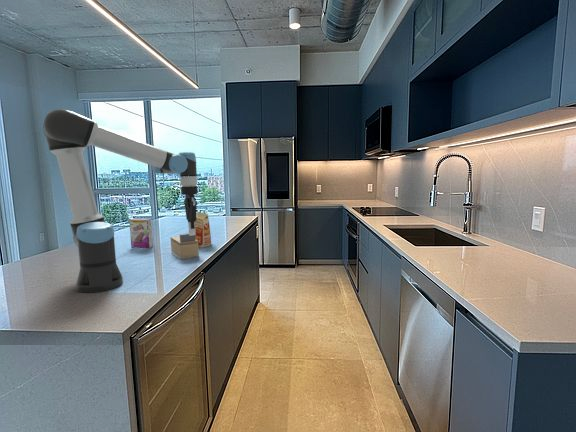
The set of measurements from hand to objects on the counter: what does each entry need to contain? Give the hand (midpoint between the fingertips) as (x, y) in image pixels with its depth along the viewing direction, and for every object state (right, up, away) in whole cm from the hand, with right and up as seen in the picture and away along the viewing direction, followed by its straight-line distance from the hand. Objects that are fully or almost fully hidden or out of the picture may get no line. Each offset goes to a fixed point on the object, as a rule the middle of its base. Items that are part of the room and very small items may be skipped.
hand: (192, 235), depth 155 cm
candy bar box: (-38, -9, +31) cm, 50 cm away
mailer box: (-8, -11, +13) cm, 19 cm away
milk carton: (-4, -8, +34) cm, 36 cm away
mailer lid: (-8, -4, +12) cm, 15 cm away
